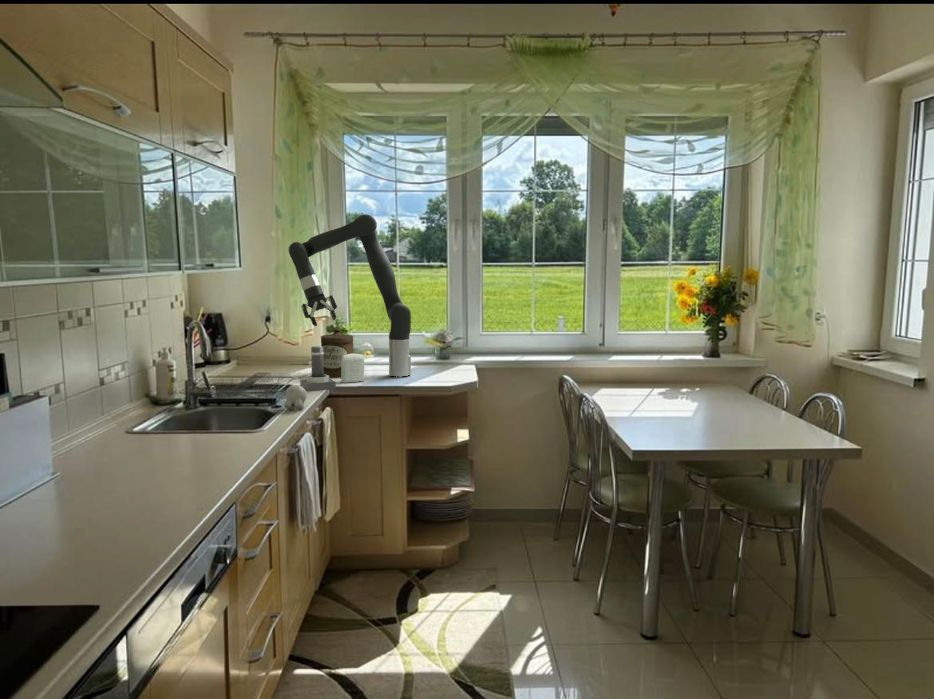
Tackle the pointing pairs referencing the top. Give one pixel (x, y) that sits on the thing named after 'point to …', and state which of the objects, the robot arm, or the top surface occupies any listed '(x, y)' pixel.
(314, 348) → the grey bottle
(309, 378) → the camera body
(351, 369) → the photo printer
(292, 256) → the robot arm
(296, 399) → the chubby cartoon animal
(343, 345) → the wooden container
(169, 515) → the top surface
